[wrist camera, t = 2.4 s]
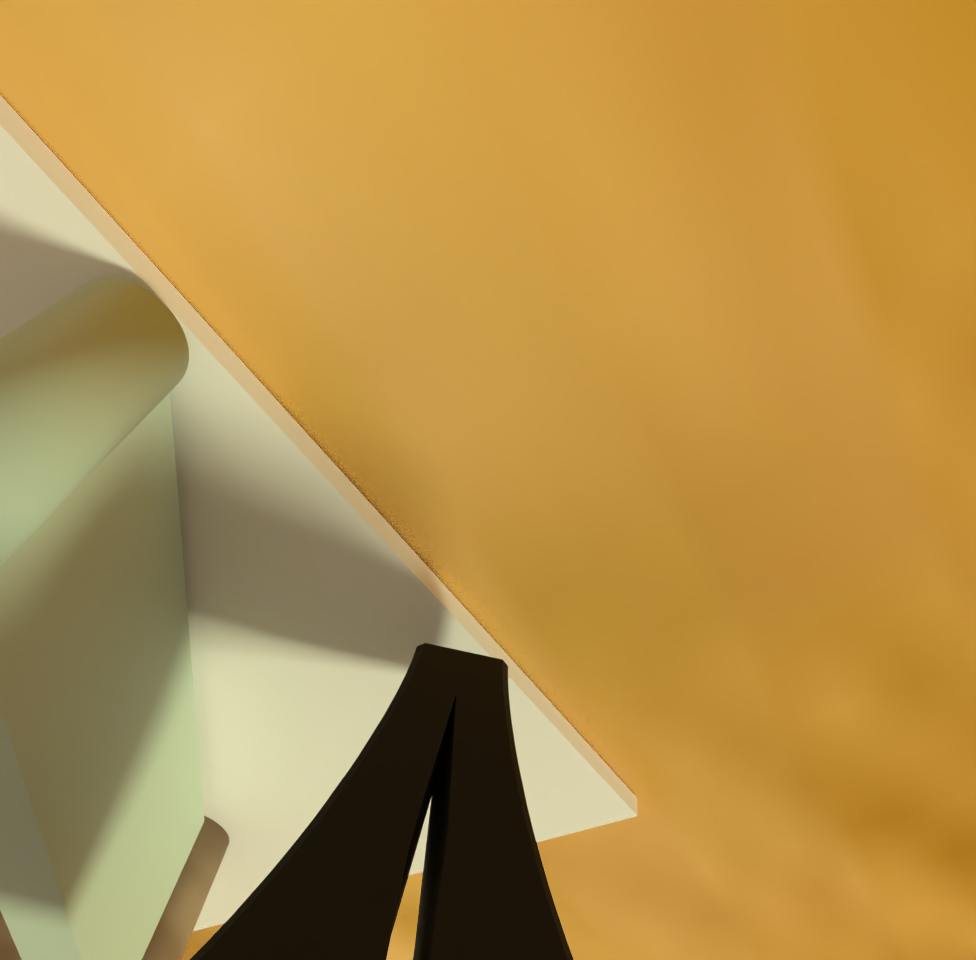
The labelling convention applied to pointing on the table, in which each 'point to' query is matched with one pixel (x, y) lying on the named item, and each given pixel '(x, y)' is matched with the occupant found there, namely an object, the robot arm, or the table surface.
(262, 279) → the table surface
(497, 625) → the table surface
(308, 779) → the card
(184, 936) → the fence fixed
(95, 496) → the pale green bar
